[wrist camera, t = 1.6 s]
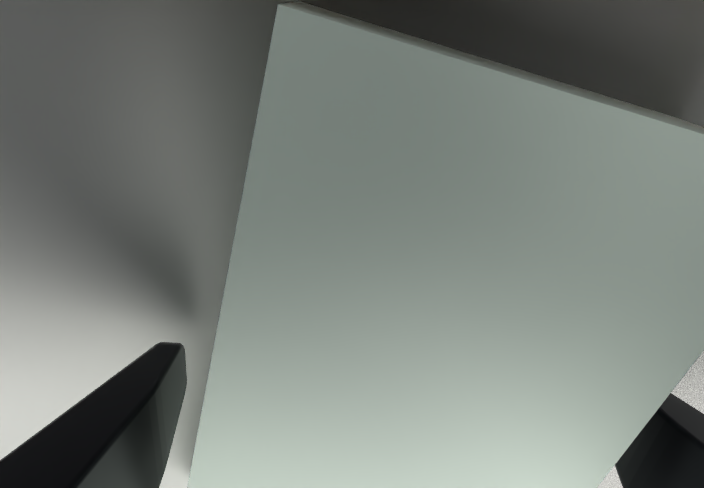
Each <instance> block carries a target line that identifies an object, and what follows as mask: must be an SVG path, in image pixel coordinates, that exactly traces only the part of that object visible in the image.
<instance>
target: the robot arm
mask: <svg viewBox="0 0 704 488" xmlns="http://www.w3.org/2000/svg"><path fill="white" fill-rule="evenodd" d="M186 384H187V374H186V360H185V349H184V346H183V345H182V344H181V343H169V342H160V343H158V344H156V345H155V346H153V347H152V348H151V349H149V350H148V351H147V352H145V353H144V354H143V355H141V356H140V357H139V358H137V359H136V360H135V361H133V362H132V363H130V364H129V365H128V366H126V367H125V368H124V369H122V370H121V371H120V372H118V373H117V374H116V375H114V376H113V377H112V378H110V379H109V380H108V381H106V382H105V383H104V384H102V385H101V386H100V387H98V388H97V389H95V390H94V391H93V392H91V393H90V394H89V395H87V396H86V397H85V398H83V399H82V400H81V401H79V402H78V403H77V404H75V405H74V406H73V407H71V408H70V409H69V410H67V411H66V412H65V413H63V414H62V415H61V416H59V417H58V418H56V419H55V420H54V421H52V422H51V423H50V424H48V425H47V426H46V427H44V428H43V429H42V430H40V431H39V432H38V433H36V434H35V435H34V436H32V437H31V438H30V439H28V440H27V441H26V442H24V443H23V444H21V445H20V446H19V447H17V448H16V449H15V450H13V451H12V452H11V453H9V454H8V455H7V456H5V457H4V458H3V459H1V460H0V488H159V486H160V483H161V480H162V477H163V474H164V471H165V468H166V464H167V460H168V457H169V453H170V449H171V445H172V441H173V437H174V434H175V430H176V426H177V422H178V418H179V414H180V410H181V407H182V403H183V399H184V395H185V391H186ZM615 467H616V469H617V472H618V475H619V478H620V481H621V483H622V486H623V488H704V414H703V413H701V412H700V411H698V410H696V409H695V408H693V407H692V406H690V405H689V404H687V403H685V402H684V401H682V400H681V399H679V398H678V397H676V396H674V395H673V394H671V393H670V394H669V396H668V397H667V398H666V400H665V401H664V402H663V403H662V405H661V406H660V407H659V409H658V410H657V411H656V412H655V414H654V415H653V416H652V418H651V419H650V420H649V421H648V423H647V424H646V425H645V427H644V428H643V429H642V430H641V432H640V433H639V434H638V436H637V437H636V438H635V439H634V441H633V442H632V443H631V445H630V446H629V447H628V448H627V450H626V451H625V452H624V454H623V455H622V456H621V457H620V459H619V460H618V461H617V463H616V464H615Z"/></svg>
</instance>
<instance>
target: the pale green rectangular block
mask: <svg viewBox="0 0 704 488" xmlns="http://www.w3.org/2000/svg"><path fill="white" fill-rule="evenodd" d="M703 351H704V127H702V126H699V125H696V124H693V123H691V122H688V121H685V120H682V119H679V118H676V117H673V116H669V115H666V114H663V113H660V112H656V111H653V110H650V109H647V108H644V107H640V106H637V105H634V104H631V103H627V102H624V101H621V100H618V99H614V98H611V97H608V96H605V95H601V94H598V93H595V92H592V91H589V90H585V89H582V88H579V87H576V86H572V85H569V84H566V83H563V82H559V81H556V80H553V79H550V78H546V77H543V76H540V75H537V74H534V73H530V72H527V71H524V70H521V69H517V68H514V67H511V66H508V65H504V64H501V63H498V62H495V61H491V60H488V59H485V58H482V57H479V56H475V55H472V54H469V53H466V52H462V51H459V50H456V49H453V48H449V47H446V46H443V45H440V44H436V43H433V42H430V41H427V40H423V39H420V38H417V37H414V36H411V35H407V34H404V33H401V32H398V31H394V30H391V29H388V28H385V27H381V26H378V25H375V24H372V23H368V22H365V21H362V20H359V19H356V18H352V17H349V16H346V15H343V14H339V13H336V12H333V11H330V10H326V9H323V8H320V7H317V6H313V5H310V4H307V3H304V2H301V1H294V2H288V3H282V4H278V6H277V12H276V17H275V22H274V28H273V33H272V38H271V44H270V49H269V54H268V60H267V65H266V70H265V76H264V81H263V86H262V91H261V97H260V102H259V107H258V113H257V118H256V123H255V129H254V134H253V139H252V145H251V150H250V155H249V161H248V166H247V171H246V177H245V182H244V187H243V193H242V198H241V203H240V209H239V214H238V219H237V225H236V230H235V235H234V241H233V246H232V251H231V257H230V262H229V267H228V273H227V278H226V283H225V289H224V294H223V299H222V305H221V310H220V315H219V321H218V326H217V331H216V337H215V342H214V347H213V353H212V358H211V363H210V369H209V374H208V379H207V385H206V390H205V395H204V401H203V406H202V411H201V417H200V422H199V427H198V432H197V438H196V443H195V448H194V454H193V459H192V464H191V470H190V475H189V480H188V486H187V488H597V487H598V486H599V484H600V483H601V482H602V481H603V479H604V478H605V477H606V475H607V474H608V473H609V472H610V470H611V469H612V468H613V466H614V465H615V464H616V463H617V461H618V460H619V459H620V457H621V456H622V455H623V454H624V452H625V451H626V450H627V448H628V447H629V446H630V445H631V443H632V442H633V441H634V439H635V438H636V437H637V436H638V434H639V433H640V432H641V430H642V429H643V428H644V427H645V425H646V424H647V423H648V421H649V420H650V419H651V418H652V416H653V415H654V414H655V412H656V411H657V410H658V409H659V407H660V406H661V405H662V403H663V402H664V401H665V400H666V398H667V397H668V396H669V394H670V393H671V392H672V391H673V389H674V388H675V387H676V385H677V384H678V383H679V382H680V380H681V379H682V378H683V376H684V375H685V374H686V373H687V371H688V370H689V369H690V367H691V366H692V365H693V364H694V362H695V361H696V360H697V358H698V357H699V356H700V355H701V353H702V352H703Z"/></svg>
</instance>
